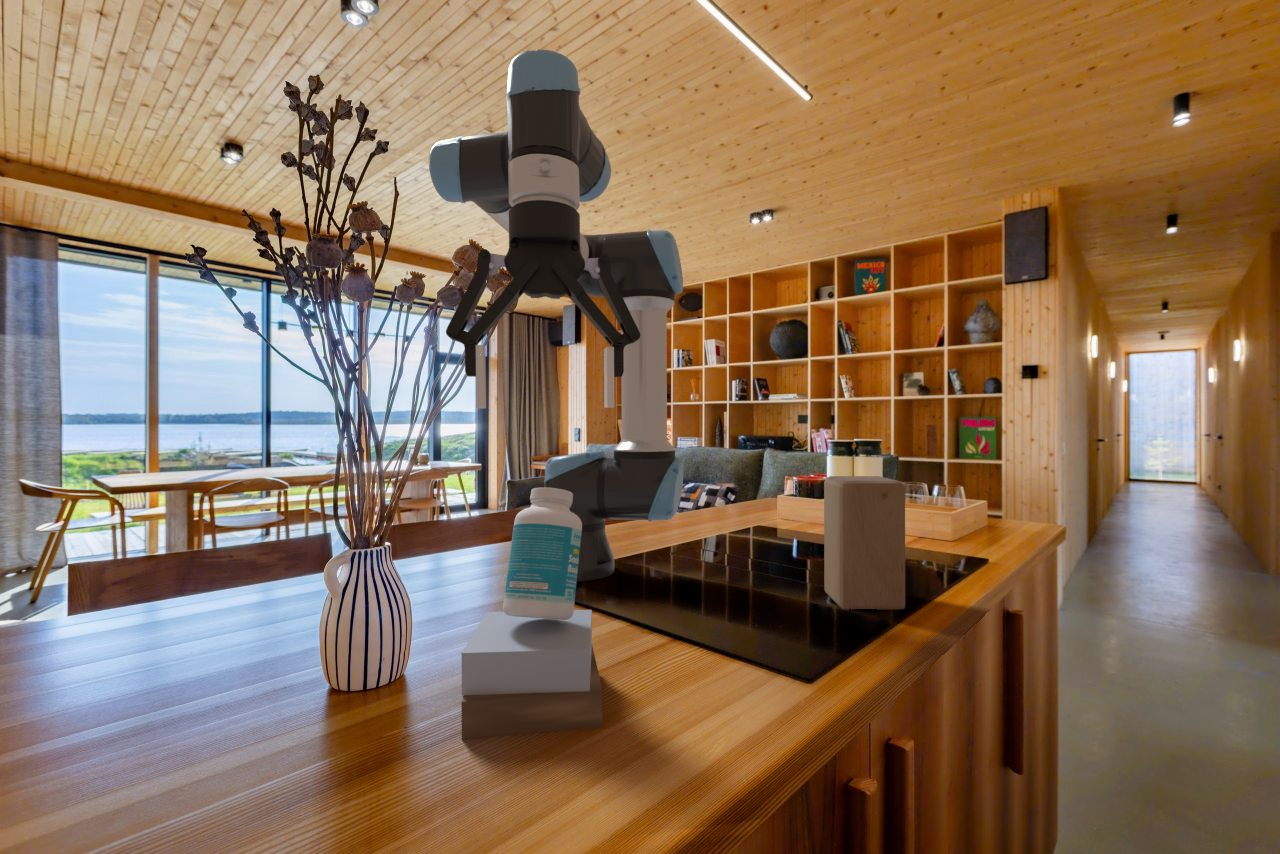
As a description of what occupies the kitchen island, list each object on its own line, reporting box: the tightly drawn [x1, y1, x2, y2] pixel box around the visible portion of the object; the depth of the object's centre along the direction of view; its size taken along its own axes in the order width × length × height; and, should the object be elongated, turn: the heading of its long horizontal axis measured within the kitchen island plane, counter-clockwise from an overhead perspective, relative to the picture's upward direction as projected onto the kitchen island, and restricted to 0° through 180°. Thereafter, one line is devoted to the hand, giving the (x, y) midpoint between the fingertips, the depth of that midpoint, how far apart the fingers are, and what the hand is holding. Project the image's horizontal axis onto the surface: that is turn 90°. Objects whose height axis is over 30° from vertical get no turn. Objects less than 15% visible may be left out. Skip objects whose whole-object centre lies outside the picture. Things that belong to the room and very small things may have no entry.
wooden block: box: [823, 475, 906, 611], centre depth 94 cm, size 10×10×20 cm
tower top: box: [461, 609, 593, 696], centre depth 61 cm, size 12×12×4 cm
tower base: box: [461, 645, 604, 741], centre depth 61 cm, size 13×13×4 cm
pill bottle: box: [502, 487, 582, 620], centre depth 64 cm, size 8×7×14 cm
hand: (546, 408), depth 63 cm, fingers open, 13 cm apart
